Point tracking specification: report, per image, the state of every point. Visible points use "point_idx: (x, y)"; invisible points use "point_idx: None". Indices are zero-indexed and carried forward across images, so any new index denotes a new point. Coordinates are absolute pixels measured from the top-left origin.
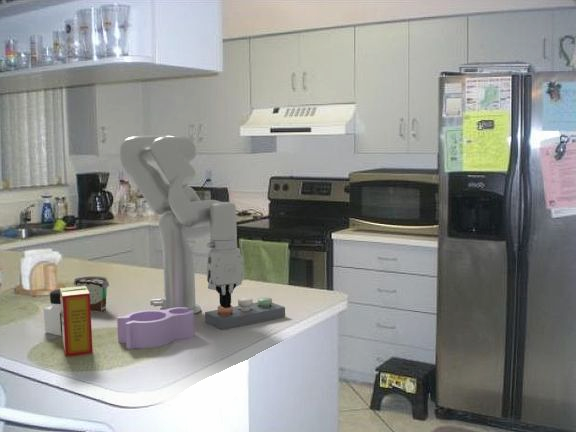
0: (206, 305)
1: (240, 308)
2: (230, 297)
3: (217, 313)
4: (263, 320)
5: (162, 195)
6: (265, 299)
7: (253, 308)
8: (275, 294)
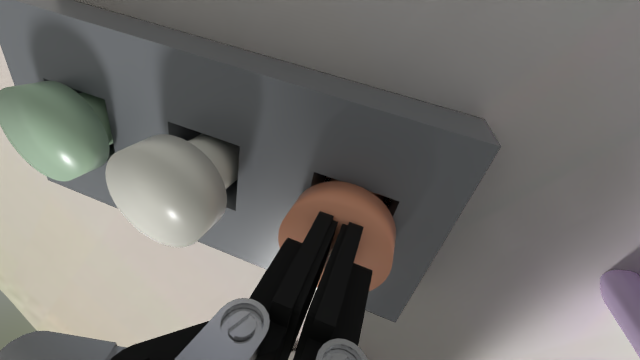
0: None
1: None
2: (271, 276)
3: None
4: (182, 33)
5: None
6: (34, 131)
7: None
8: (16, 240)
